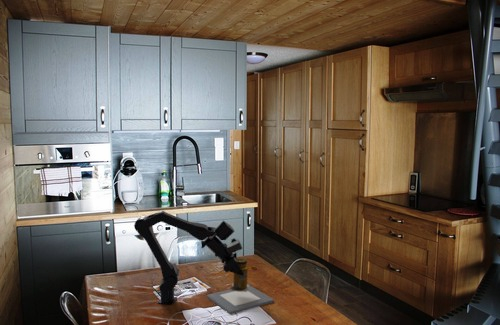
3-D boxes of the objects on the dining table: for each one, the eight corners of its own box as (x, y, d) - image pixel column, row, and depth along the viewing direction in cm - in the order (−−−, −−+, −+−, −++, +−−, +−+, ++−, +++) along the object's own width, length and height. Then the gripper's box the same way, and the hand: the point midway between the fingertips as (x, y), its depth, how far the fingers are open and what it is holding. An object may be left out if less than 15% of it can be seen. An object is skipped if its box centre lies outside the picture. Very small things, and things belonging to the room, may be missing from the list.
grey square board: (230, 314, 167) (230, 311, 167) (206, 297, 184) (206, 294, 184) (273, 301, 179) (273, 299, 179) (248, 286, 196) (248, 284, 196)
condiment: (248, 284, 184) (249, 258, 183) (247, 292, 176) (247, 264, 175) (232, 283, 185) (232, 257, 184) (230, 291, 176) (230, 263, 175)
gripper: (232, 240, 169) (258, 266, 171) (230, 229, 188) (254, 252, 190) (212, 259, 169) (239, 285, 171) (212, 246, 188) (236, 269, 190)
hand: (242, 272), depth 181 cm, fingers closed on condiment, 6 cm apart
